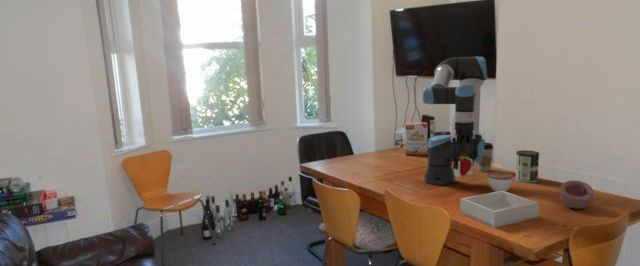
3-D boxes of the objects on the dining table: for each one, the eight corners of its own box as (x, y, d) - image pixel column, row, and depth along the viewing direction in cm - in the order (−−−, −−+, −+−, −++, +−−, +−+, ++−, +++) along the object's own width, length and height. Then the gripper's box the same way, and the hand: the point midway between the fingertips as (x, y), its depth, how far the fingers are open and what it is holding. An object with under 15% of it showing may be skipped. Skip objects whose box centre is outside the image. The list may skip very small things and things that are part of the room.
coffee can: (534, 177, 223) (536, 150, 221) (540, 182, 213) (542, 154, 211) (513, 176, 225) (514, 150, 223) (517, 182, 215) (519, 154, 213)
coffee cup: (475, 172, 237) (476, 144, 234) (476, 168, 244) (477, 142, 242) (492, 173, 234) (493, 145, 231) (492, 169, 241) (493, 142, 239)
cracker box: (405, 155, 283) (405, 123, 279) (405, 153, 289) (405, 122, 285) (427, 155, 280) (427, 123, 277) (426, 153, 286) (427, 122, 283)
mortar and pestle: (560, 211, 174) (562, 183, 172) (556, 202, 185) (558, 175, 183) (595, 214, 170) (597, 185, 168) (589, 204, 181) (591, 177, 179)
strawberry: (462, 172, 190) (462, 150, 189) (475, 176, 184) (475, 153, 182) (451, 174, 188) (451, 152, 186) (464, 178, 181) (464, 155, 179)
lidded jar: (501, 195, 196) (501, 175, 195) (482, 189, 206) (483, 170, 204) (517, 191, 201) (518, 171, 199) (498, 185, 210) (499, 167, 209)
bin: (460, 212, 176) (460, 198, 175) (501, 204, 184) (502, 190, 183) (494, 227, 159) (494, 212, 158) (537, 217, 168) (538, 202, 167)
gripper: (452, 124, 175) (451, 180, 179) (488, 120, 182) (486, 173, 186) (440, 122, 181) (439, 176, 186) (475, 118, 189) (474, 170, 193)
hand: (463, 174), depth 186 cm, fingers closed on strawberry, 6 cm apart
